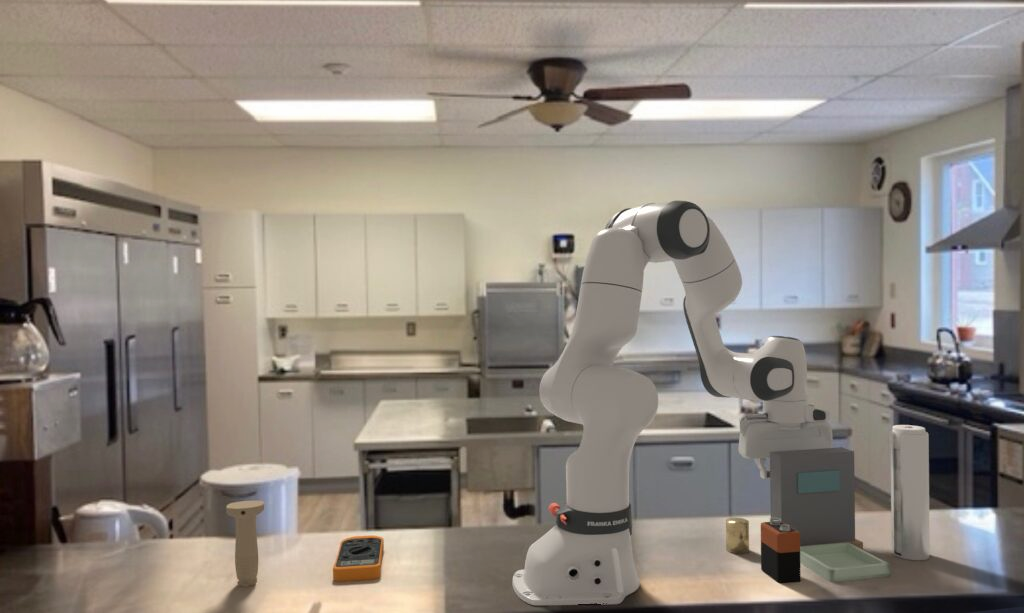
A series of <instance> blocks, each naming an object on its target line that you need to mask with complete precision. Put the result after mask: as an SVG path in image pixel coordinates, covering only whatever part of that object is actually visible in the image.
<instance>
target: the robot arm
mask: <svg viewBox="0 0 1024 613" xmlns="http://www.w3.org/2000/svg"><path fill="white" fill-rule="evenodd" d="M665 262H673V264H674V266H675V269H676V272H677V274H678V276H679V279H680V281H681V283H682V286H683V289H684V293H685V296H684V297H683V303H682V307H683V314H684V317H685V321H686V324H687V327H688V330H689V333H690V337H691V340H692V343H693V346H694V350H695V352H696V356H697V359H698V360H697V361H698V365H699V374H700V375H699V376H700V380H701V383H702V385H703V387H704V389H705V390H706V391H707V393H708V394H710V395H711V396H713V397H715V398H731V399H732V398H734V399H739V400H741V399H742V400H749V401H757V402H762V412H761V413H747V414H746V415H745V416H743V417H741V419H740V420H739V431H740V433H739V439H738V453H739V454H740V456H741V457H743V458H744V459H748V460H754V462H755V464H756V466H757V468H758V469H759V473H760V474H759V475H760V478H761V479H763V480H767V479H769V480H770V469H768V468H767V467H766V465H765V464H766V463H767V459H770V452H776V451H791V450H807V449H822V448H834V442H833V440H834V439H833V438H834V436H833V428H832V425H831V423H830V422H829V420H830V418H831V413H830V411H829V410H827V409H823V408H820V407H817V406H815V405H812V404H809V403H808V395H807V392H806V384H807V380H808V366H807V365H808V364H807V354H806V350H805V347H804V343H803V341H802V340H800V339H799V338H795V337H791V336H782V335H770V336H767V337H766V338H765V340H764V344H763V345H761V347H759V349H757V350H755V351H753V352H751V353H748V352H747V353H746V352H735V351H732V350H730V349H729V348H727V347H726V346H725V345H724V342H723V338H722V335H721V333H720V328H719V326H718V325H719V324H718V321H717V318H716V314H718V313H720V312H721V311H723V310H724V309H726V308H728V306H730V305H731V304H733V302H734V301H735V300H736V299H737V297H738V296H739V294H740V293H741V290H742V287H743V278H742V275H741V274H742V273H741V270H740V267H739V265H738V263H737V261H736V258H735V256H734V254H733V252H732V249H731V247H730V246H729V243H728V242H727V240H726V238H725V237H724V235H723V234H722V232H721V231H720V228H718V226H717V224H716V223H715V222H714V220H713V219H712V218H710V217H709V216H707V215H706V213H705V212H704V210H703V209H702V208H701V207H700V206H699V205H697V204H696V203H693V202H691V201H687V200H672V201H669V202H668V201H666V202H657V203H656V202H650V203H646V204H641V205H640V204H639V205H637V206H634V207H629V208H624V209H623V210H620V211H618V212H617V213H615V214H614V215H613V216H611V217H610V219H609V220H608V222H607V223H606V225H605V228H604V229H602V230H600V231H598V232H597V233H596V234H595V235H594V237H593V239H592V240H591V243H590V246H589V249H588V253H587V255H586V258H585V261H584V266H583V271H582V274H581V276H582V277H581V281H580V287H579V294H578V299H577V300H578V301H577V307H576V310H575V312H576V313H575V318H574V321H573V322H574V323H573V326H572V330H571V333H570V334H569V337H568V340H567V342H566V345H565V346H564V349H563V350H562V352H561V354H560V356H559V358H558V359H557V361H556V362H555V363H554V364H553V365H552V366H551V367H549V368H548V369H547V370H546V372H544V374H543V376H542V377H541V380H540V382H539V383H540V384H539V390H538V392H539V394H538V395H539V399H540V402H541V404H542V406H543V408H545V410H546V411H548V412H549V413H551V414H552V415H555V416H556V417H557V418H559V419H561V420H563V421H566V422H570V423H574V424H579V425H582V427H583V431H582V435H581V436H582V438H581V441H580V444H579V446H578V449H577V450H575V451H574V452H572V453H571V454H570V455H569V456H568V458H567V460H566V463H565V480H566V481H565V482H566V483H565V484H566V502H565V503H564V504H562V505H561V506H560V505H559V504H558V503H556V502H552V503H550V504H549V506H548V511H549V513H550V514H551V515H552V516H553V517H555V525H554V526H553V527H552V528H550V530H548V531H547V532H546V533H545V534H543V535H542V536H541V537H540V538H538V539H537V540H536V541H534V542H533V543H532V544H531V545H530V546H529V548H528V550H527V552H526V557H525V562H524V563H525V564H524V569H523V568H522V569H519V570H517V571H515V572H514V574H513V576H512V582H511V584H512V589H513V591H514V592H515V594H516V595H517V597H518V598H519V599H520V600H522V601H523V602H525V603H526V604H528V605H531V606H579V605H578V604H590V603H593V604H594V603H597V604H601V605H618V604H621V603H623V601H624V600H625V598H626V597H627V596H629V595H631V594H633V593H634V592H636V591H637V590H638V589H639V587H640V585H641V584H640V579H639V576H638V573H637V569H636V565H635V560H634V554H633V553H634V552H633V546H632V540H631V539H632V537H631V536H632V535H633V512H632V504H631V503H630V485H629V484H630V463H631V456H632V453H633V448H634V446H635V443H636V441H637V439H638V437H639V436H640V434H641V432H643V431H644V430H645V429H647V427H649V425H651V423H652V422H653V420H654V419H655V417H656V415H657V412H658V408H659V395H658V389H657V387H656V385H655V383H654V382H653V381H652V380H651V379H650V378H649V377H648V376H646V375H645V374H642V373H639V372H638V371H635V370H632V369H629V368H626V367H620V366H613V365H614V363H615V361H616V358H617V356H618V354H619V352H621V350H622V349H623V347H624V346H625V345H627V344H628V343H629V342H631V341H632V340H633V339H634V338H635V336H636V334H637V330H638V322H639V317H640V310H641V309H640V308H641V304H642V303H641V300H642V294H643V285H644V273H645V272H644V271H645V269H646V267H647V265H648V263H653V264H654V263H655V264H657V263H665ZM603 603H604V604H603ZM606 603H607V604H606Z"/></svg>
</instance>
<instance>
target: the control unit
mask: <svg viewBox="0 0 1024 613" xmlns="http://www.w3.org/2000/svg"><path fill="white" fill-rule="evenodd" d="M769 470H770V479H769V480H770V481H769V482H770V483H769V485H770V488H769V490H770V492H769V493H770V497H769V498H770V499H769V500H770V502H769V503H770V518H779V519H781V522H783V523H785V524H787V525H789V526H790V527H792V528H793V529H795V530H797V531H798V532H799V533H800V547H801V546H812V545H823V544H834V543H845V542H849V543H851V544H852V545H854V546H856V547H858V548H860V549H862V550H864V542H863V541H861V540H859V539H857V538H856V509H855V508H856V507H855V506H856V504H855V503H856V502H855V501H856V498H855V497H856V495H855V494H856V492H855V491H856V488H855V487H856V486H855V485H856V483H855V478H856V477H855V451H854V450H851V449H848V448H846V447H840V446H839V447H838V446H837V447H833V448H822V449H807V450H791V451H776V452H770V458H769Z"/></svg>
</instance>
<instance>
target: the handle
mask: <svg viewBox="0 0 1024 613" xmlns="http://www.w3.org/2000/svg"><path fill="white" fill-rule="evenodd" d="M264 510H265V502H264V500H243V501H235V502H230V503H228V504H227V505H226V515H228V516H229V517H233V518H234V519H235V547H234V548H235V549H234V550H235V551H234V566H235V574H236V578H237V580H238V581H237V582H236V583H237V587H243V588H248V587H250V586H256V584H257V582H258V574H259V572H258V571H259V547H258V535H257V534H258V533H257V524H256V519H257V516H259V514H261V513H262V512H263V511H264Z"/></svg>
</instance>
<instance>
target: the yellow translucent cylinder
mask: <svg viewBox="0 0 1024 613" xmlns="http://www.w3.org/2000/svg"><path fill="white" fill-rule="evenodd" d="M725 548H726V549H725V550H726V552H728V553H730V554H734V555H735V554H736V555H746V554H749V553H750V522H749V520H748V519H746V518H742V517H728V518H726V519H725Z"/></svg>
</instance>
